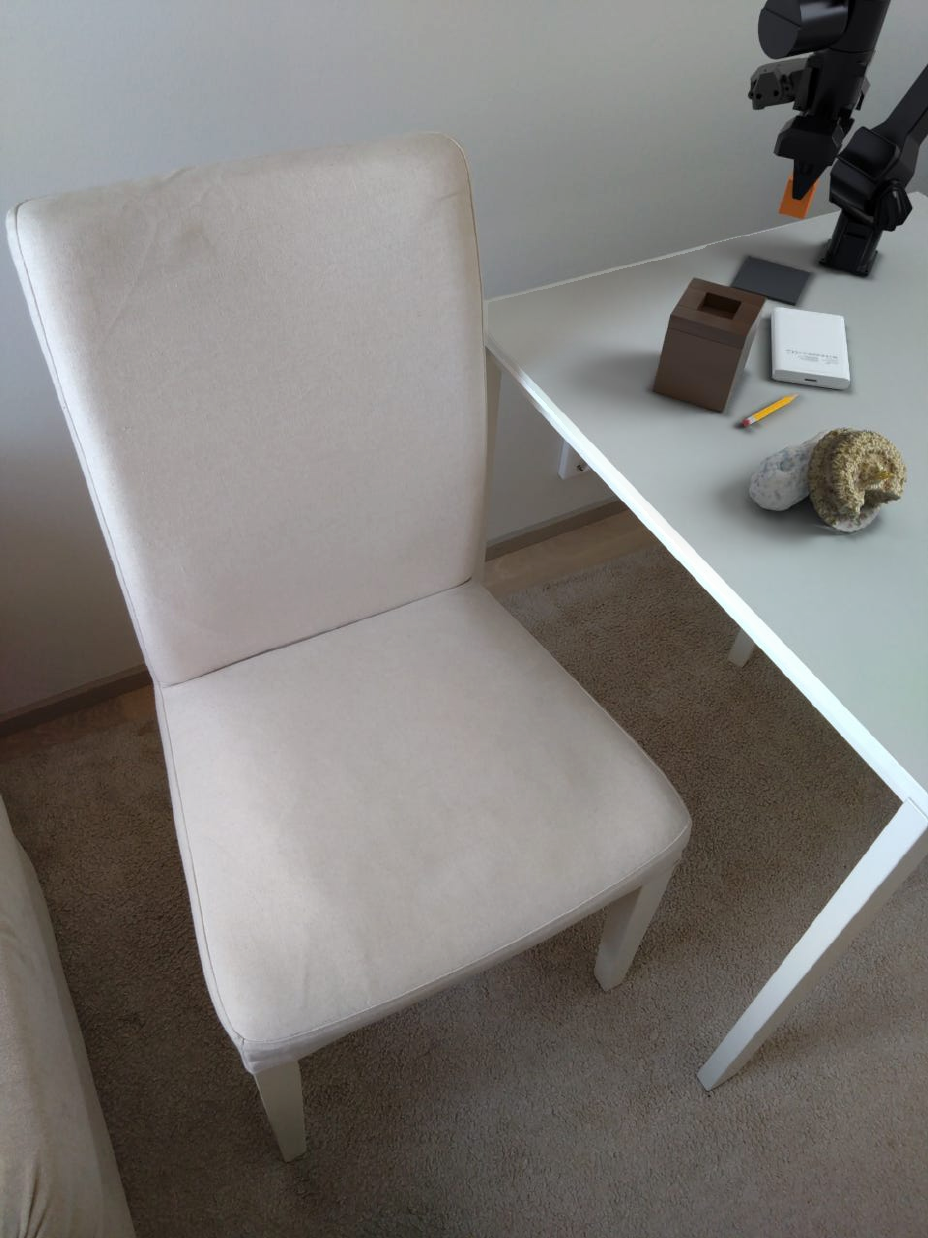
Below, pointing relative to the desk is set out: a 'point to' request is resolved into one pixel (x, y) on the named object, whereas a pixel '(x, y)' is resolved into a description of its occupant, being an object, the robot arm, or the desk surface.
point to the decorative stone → (784, 476)
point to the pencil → (768, 410)
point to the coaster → (771, 280)
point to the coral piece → (854, 477)
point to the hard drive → (809, 348)
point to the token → (796, 201)
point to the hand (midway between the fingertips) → (799, 192)
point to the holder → (708, 343)
